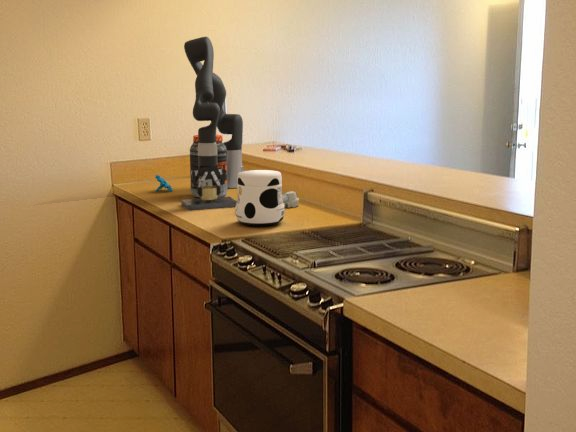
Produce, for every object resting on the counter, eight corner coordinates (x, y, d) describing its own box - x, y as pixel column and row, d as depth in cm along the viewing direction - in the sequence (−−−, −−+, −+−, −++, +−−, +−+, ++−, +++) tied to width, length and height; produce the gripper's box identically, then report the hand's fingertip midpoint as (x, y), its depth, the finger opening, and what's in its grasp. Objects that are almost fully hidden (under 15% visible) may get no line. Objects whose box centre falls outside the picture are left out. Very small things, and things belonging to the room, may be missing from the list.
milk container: (229, 220, 255) (228, 171, 251) (273, 216, 262) (273, 168, 258) (245, 230, 239) (244, 178, 236) (292, 226, 246) (292, 174, 242)
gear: (170, 189, 309) (154, 173, 309) (161, 199, 310) (145, 183, 310) (176, 189, 320) (160, 173, 320) (167, 198, 321) (151, 182, 321)
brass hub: (214, 196, 286) (214, 185, 285) (218, 199, 280) (218, 188, 279) (199, 197, 284) (199, 186, 283) (203, 200, 278) (202, 189, 277)
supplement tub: (217, 199, 294) (215, 137, 289) (184, 197, 300) (182, 136, 295) (233, 193, 309) (232, 134, 303) (202, 191, 315) (200, 133, 309)
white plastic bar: (237, 201, 270) (293, 187, 282) (240, 218, 272) (295, 203, 284) (243, 204, 266) (300, 189, 277) (246, 221, 268) (302, 205, 279)
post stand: (229, 201, 291) (229, 185, 290) (237, 206, 280) (237, 190, 279) (181, 204, 284) (180, 188, 283) (187, 210, 273) (187, 193, 272)
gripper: (222, 151, 284) (223, 192, 287) (187, 153, 279) (189, 195, 282) (227, 154, 277) (228, 196, 280) (191, 155, 272) (193, 198, 276)
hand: (208, 195), depth 281 cm, fingers closed on brass hub, 6 cm apart
